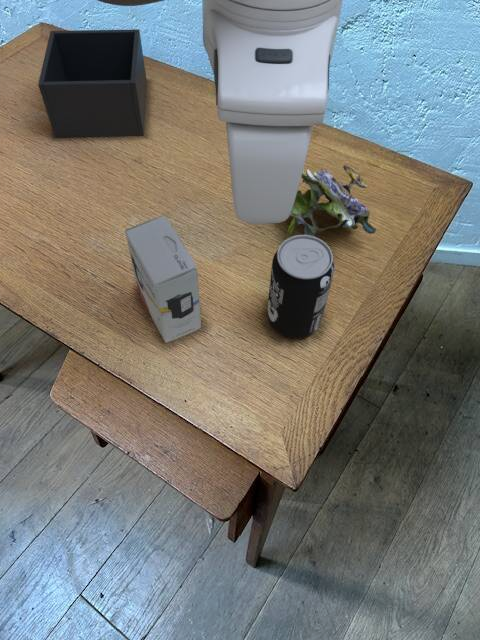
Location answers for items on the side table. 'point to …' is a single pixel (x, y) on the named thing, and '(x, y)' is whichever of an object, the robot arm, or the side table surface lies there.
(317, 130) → the side table surface
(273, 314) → the beverage can
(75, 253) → the side table surface
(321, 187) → the passion flower
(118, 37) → the open storage bin
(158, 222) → the ink box
